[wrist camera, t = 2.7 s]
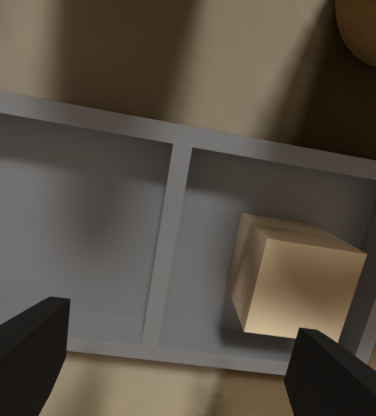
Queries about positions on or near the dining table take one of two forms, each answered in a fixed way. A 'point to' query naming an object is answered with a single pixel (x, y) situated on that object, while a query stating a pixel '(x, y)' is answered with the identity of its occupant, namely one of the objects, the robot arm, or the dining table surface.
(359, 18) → the plant pot
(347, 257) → the maple cube
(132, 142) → the tray
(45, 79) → the dining table surface
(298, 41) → the dining table surface
